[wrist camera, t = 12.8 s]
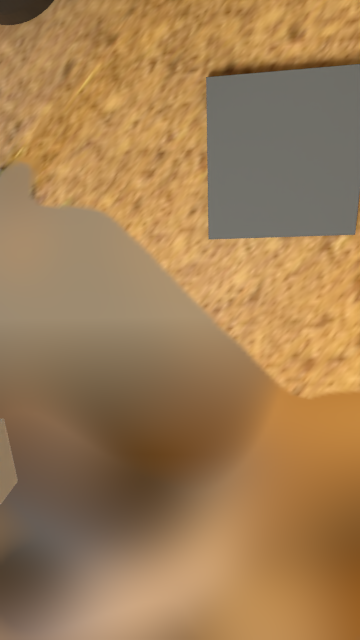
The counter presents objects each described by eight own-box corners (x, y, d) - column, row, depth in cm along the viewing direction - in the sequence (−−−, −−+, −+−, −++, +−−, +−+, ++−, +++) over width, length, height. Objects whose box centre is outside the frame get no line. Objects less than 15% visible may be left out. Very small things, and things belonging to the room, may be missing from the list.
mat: (206, 80, 36) (206, 77, 35) (369, 67, 34) (373, 62, 33) (208, 238, 40) (208, 239, 39) (351, 233, 39) (354, 234, 38)
